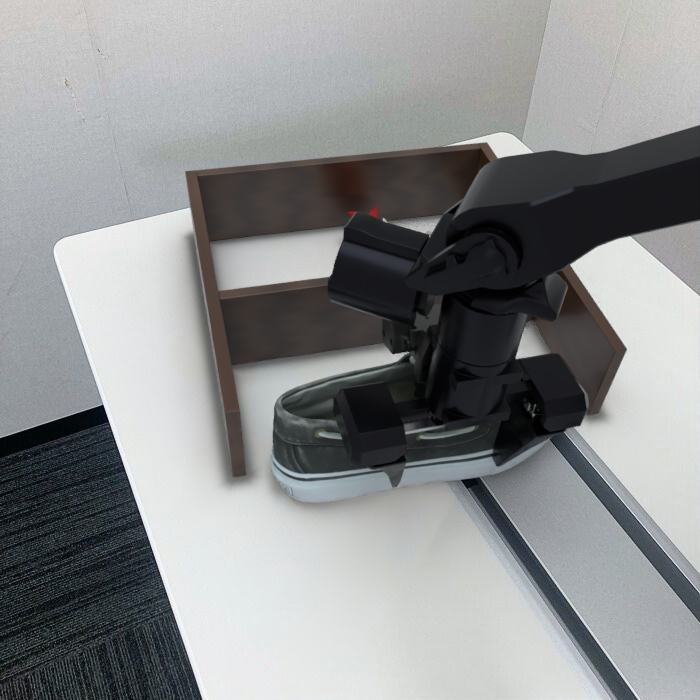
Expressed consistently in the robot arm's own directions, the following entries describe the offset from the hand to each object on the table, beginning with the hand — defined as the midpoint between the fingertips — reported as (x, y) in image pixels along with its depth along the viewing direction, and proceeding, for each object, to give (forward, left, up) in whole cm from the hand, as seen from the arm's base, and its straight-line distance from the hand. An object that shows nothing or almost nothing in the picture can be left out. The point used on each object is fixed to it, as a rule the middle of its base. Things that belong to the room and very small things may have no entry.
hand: (445, 472), depth 63 cm
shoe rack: (0, -23, -4) cm, 23 cm away
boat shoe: (0, -5, -3) cm, 6 cm away
